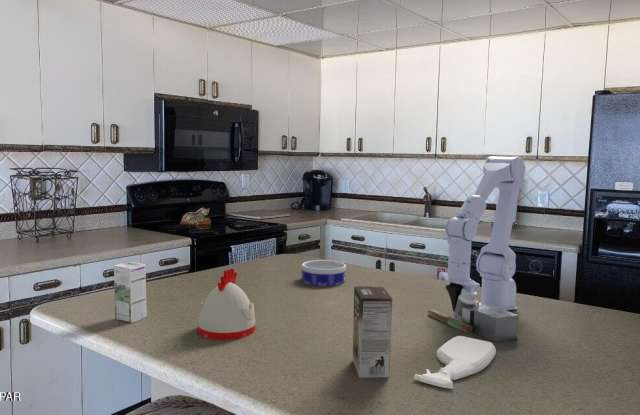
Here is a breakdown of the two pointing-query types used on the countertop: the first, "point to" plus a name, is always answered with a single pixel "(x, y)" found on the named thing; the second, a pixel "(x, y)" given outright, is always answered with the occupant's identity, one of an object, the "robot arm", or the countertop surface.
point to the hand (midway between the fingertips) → (456, 311)
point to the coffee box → (372, 331)
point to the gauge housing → (495, 324)
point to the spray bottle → (459, 360)
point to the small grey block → (470, 313)
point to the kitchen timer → (226, 311)
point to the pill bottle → (464, 302)
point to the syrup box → (130, 291)
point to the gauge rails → (450, 321)
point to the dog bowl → (323, 272)
